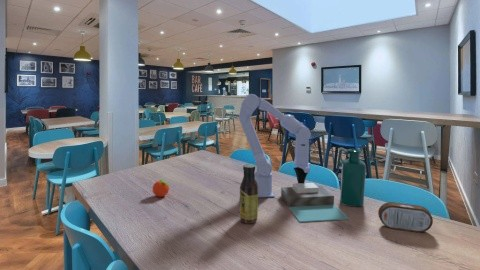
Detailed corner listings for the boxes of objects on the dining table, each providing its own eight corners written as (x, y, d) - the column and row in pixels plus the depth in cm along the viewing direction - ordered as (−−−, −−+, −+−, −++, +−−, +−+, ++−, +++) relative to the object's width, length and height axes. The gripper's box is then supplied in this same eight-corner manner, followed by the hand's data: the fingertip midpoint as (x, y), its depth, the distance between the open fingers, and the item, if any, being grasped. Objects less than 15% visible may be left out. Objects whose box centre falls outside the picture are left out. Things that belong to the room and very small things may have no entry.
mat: (299, 222, 92) (299, 221, 92) (289, 207, 103) (289, 206, 103) (349, 219, 94) (349, 218, 94) (333, 205, 105) (333, 204, 105)
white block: (297, 193, 108) (297, 188, 108) (292, 188, 114) (292, 183, 113) (318, 192, 109) (318, 187, 108) (312, 187, 115) (313, 182, 114)
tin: (429, 230, 86) (432, 205, 84) (432, 235, 83) (435, 209, 82) (377, 223, 91) (379, 199, 90) (378, 227, 88) (380, 203, 87)
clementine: (174, 195, 118) (174, 179, 117) (164, 200, 111) (163, 184, 110) (160, 192, 121) (159, 177, 120) (149, 197, 115) (148, 181, 114)
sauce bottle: (239, 216, 96) (238, 162, 93) (256, 216, 97) (256, 162, 94) (240, 225, 90) (240, 167, 87) (259, 224, 90) (259, 167, 87)
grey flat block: (289, 207, 103) (289, 198, 103) (281, 196, 115) (281, 187, 115) (333, 205, 105) (334, 195, 105) (321, 194, 117) (321, 185, 117)
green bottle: (361, 199, 111) (365, 147, 108) (364, 207, 103) (367, 151, 100) (336, 196, 114) (339, 146, 111) (337, 204, 106) (339, 150, 103)
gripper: (317, 157, 108) (316, 189, 110) (304, 149, 122) (303, 178, 124) (300, 157, 107) (299, 190, 109) (289, 150, 121) (289, 179, 123)
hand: (300, 184), depth 117 cm, fingers closed
